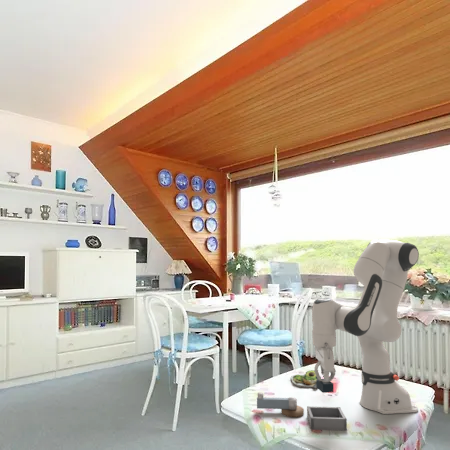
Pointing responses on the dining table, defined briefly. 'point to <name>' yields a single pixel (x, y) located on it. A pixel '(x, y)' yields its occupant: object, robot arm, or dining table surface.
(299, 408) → the base
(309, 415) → the tray
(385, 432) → the dining table surface
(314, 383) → the avocado toast plate
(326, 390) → the watch
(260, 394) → the crank arm
